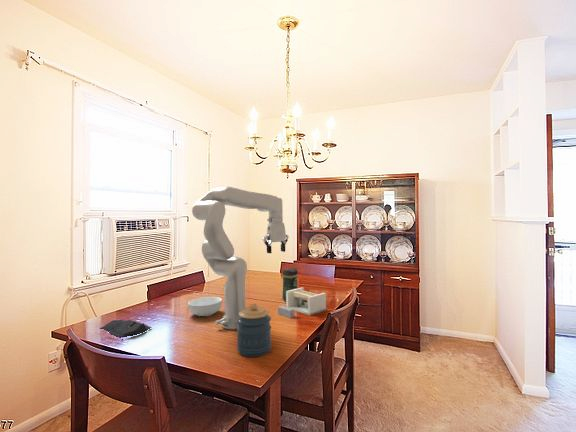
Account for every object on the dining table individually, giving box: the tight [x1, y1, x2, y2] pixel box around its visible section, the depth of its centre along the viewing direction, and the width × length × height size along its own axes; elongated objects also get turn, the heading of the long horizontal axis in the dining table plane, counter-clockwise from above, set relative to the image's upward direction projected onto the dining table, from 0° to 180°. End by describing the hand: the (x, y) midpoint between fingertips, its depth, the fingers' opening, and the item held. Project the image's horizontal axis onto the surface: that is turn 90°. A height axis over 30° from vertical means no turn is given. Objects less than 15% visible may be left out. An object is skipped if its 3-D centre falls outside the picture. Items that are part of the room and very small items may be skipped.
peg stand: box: [285, 286, 327, 316], centre depth 167 cm, size 12×18×9 cm, turn 41°
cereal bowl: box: [187, 296, 223, 317], centre depth 161 cm, size 17×17×7 cm
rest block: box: [277, 305, 295, 319], centre depth 158 cm, size 3×9×4 cm, turn 41°
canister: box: [236, 302, 272, 358], centre depth 119 cm, size 13×13×18 cm
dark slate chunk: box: [99, 319, 152, 338], centre depth 140 cm, size 15×22×5 cm
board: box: [293, 290, 318, 302], centre depth 167 cm, size 6×13×2 cm, turn 41°
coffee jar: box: [281, 267, 299, 302], centre depth 186 cm, size 10×8×19 cm
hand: (276, 252), depth 169 cm, fingers open, 9 cm apart
